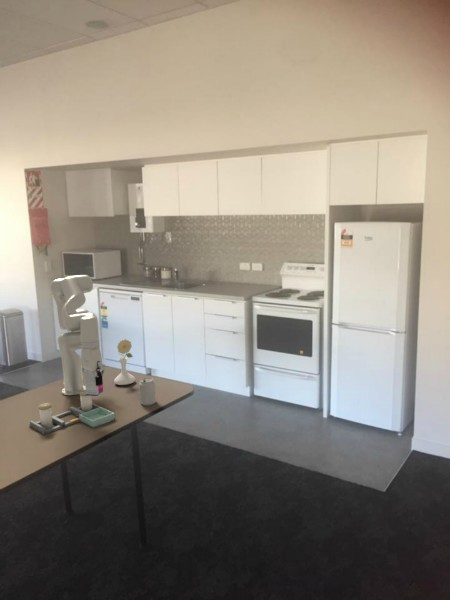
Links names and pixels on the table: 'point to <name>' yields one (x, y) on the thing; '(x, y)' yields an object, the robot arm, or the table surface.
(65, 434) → the table surface
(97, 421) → the tray
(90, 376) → the supplement box
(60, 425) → the clip holder
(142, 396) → the can
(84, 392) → the cylinder
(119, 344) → the flower in vase
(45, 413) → the fuse
